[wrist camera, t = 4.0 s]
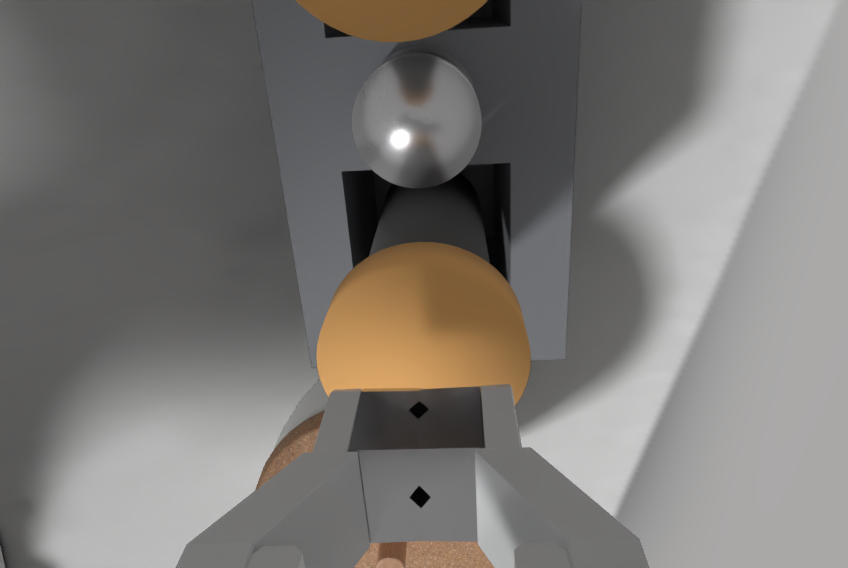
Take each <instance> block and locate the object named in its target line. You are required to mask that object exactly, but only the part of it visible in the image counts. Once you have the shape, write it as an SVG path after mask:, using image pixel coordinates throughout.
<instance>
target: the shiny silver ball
mask: <svg viewBox="0 0 848 568" xmlns="http://www.w3.org/2000/svg"><path fill="white" fill-rule="evenodd" d="M481 128H482V118H481V111H480V106H479V102H478V99H477V96H476V92H475V89H474V86H473V83H472V80H471V78H470V76H469V74H468V72H467V70H466V69H465V67H464V66H463V65H462V64H461V63H460V61H459V60H458V59H456V58H455V57H454V56H453V55H451V54H450V53H448V52H446V51H444V50H442V49H440V48H437V47H433V46H427V45H416V46H410V47H406V48H403V49H401V50H398V51H396V52H395V53H393V54H391V55H390V56H389V57H388V58H386V59H385V60H384V61H383V62H382V63H381V64H380V66H379V67H378V68H377V69H376V70H375V71H374V72H373V73H372V75H371V76H370V77H369V78H368V79H367V80H366V82H365V83H364V84H363V86H362V87H361V89H360V91H359V93H358V95H357V98H356V100H355V103H354V108H353V113H352V131H353V136H354V140H355V143H356V146H357V148H358V151H359V153H360V155H361V156H362V158H363V159H364V161H365V162H366V163H367V165H368V166H369V167H370V168H371V169H372V170H373V171H374V172H375V173H376V174H378V175H379V176H380V177H382V178H383V179H385V180H387V181H388V182H391V183H393V184H395V185H398V186H402V187H407V188H429V187H433V186H437V185H439V184H442V183H444V182H446V181H448V180H450V179H452V178H453V177H455V176H456V175H457V174H459V173H460V172H461V171H462V170H463V169H464V168H465V167H466V165H467V164H468V163H469V162H470V160H471V159H472V157H473V155H474V153H475V151H476V149H477V147H478V144H479V140H480V136H481Z"/></svg>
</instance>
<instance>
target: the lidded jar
mask: <svg viewBox="0 0 848 568" xmlns="http://www.w3.org/2000/svg"><path fill="white" fill-rule="evenodd" d="M328 398H329V397H328V395H327V394H326V392H325V390H324V388H323V385H322V383H321V380H320V379H319V380H318V381H317V382H316V383H315V384H314V385H313V386H312V387H311V389H310V390H309V391H308V392H307V393H306V394H305V395H304V397H303V398H302V399H301V400H300V401H299V403H298V405H297V406H296V408H295V409H294V411H293V413H292V414H291V416H290V417H289V419H288V421H287V422H286V424H285V426H284V427H283V429H282V431H281V434H280V436H279V438H278V440H277V443H276V445H275V448H274V450H273V452H272V454H271V455H270V457H269V458H268V460H267V462H266V463H265V466H264V468H263V471H262V473H261V476H260V479H259V481H258V484H257V487H256V490H257V489H258V488H259V487H261V486H262V485H263V484H264V483H266V482H267V481H268V480H270V479H271V478H272V477H273V476H275V475H276V474H277V473H278V472H280V471H281V470H282V469H284V468H285V467H286V466H287V465H289V464H290V463H291V462H293V461H294V460H295V459H296V458H298V457H299V456H300V455H301V454H303V453H310V452H313V449H314V445H315V442H316V439H317V435H318V432H319V428H320V425H321V422H322V418H323V415H324V412H325V408H326V405H327V402H328ZM256 490H255V491H256ZM354 568H494V566H493V565H492V563H491V562H490V561H489V559H488V558H487V556H486V555H485V554H484V552H483V551H482V549H481V548H480V547H479V545H478V542H464V541H410V542H387V543H370V547H369V549H368V550H367V551H366V553H365V554H364V555H363V556H362V558H361V559H360V560H359V562H358V563H357V564H356V566H355V567H354Z"/></svg>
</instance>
